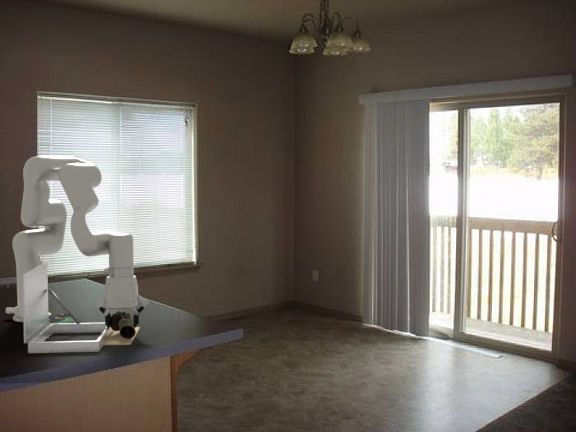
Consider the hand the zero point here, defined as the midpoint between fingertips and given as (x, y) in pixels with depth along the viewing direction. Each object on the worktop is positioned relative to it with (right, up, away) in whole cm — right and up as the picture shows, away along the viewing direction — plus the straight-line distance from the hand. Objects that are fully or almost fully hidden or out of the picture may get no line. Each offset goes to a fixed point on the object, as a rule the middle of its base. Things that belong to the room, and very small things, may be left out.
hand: (122, 326), depth 199 cm
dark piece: (+1, -2, -1) cm, 2 cm away
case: (-13, -3, -6) cm, 15 cm away
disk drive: (-26, -3, +15) cm, 30 cm away
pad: (0, -3, 0) cm, 3 cm away
